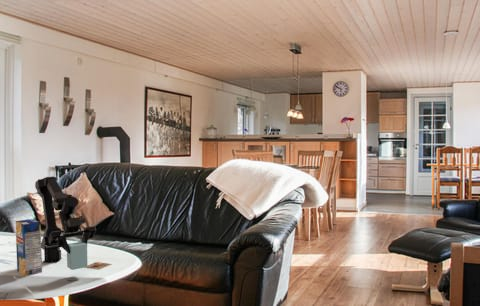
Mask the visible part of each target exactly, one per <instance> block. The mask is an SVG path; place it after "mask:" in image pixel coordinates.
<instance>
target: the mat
mask: <svg viewBox="0 0 480 306" xmlns="http://www.w3.org/2000/svg"><path fill="white" fill-rule="evenodd" d="M77 281H79V279H67V282H69V283H72V282H77Z"/></svg>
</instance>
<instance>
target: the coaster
mask: <svg viewBox="0 0 480 306" xmlns="http://www.w3.org/2000/svg"><path fill="white" fill-rule="evenodd" d="M87 265H88V267H85V268H84V269H92V270H101V269H104V268H106V267H109V266H111V265H113V263H107V262H101V266H98V267H95V266H94V262H93V263H90V264H87Z"/></svg>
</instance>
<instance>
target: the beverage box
mask: <svg viewBox="0 0 480 306" xmlns="http://www.w3.org/2000/svg"><path fill="white" fill-rule="evenodd" d="M41 226H42V225H41V221H38V220H36V219H33V218H28V219H21V220H15V245H16V269H17V270H16V271H17V272H18V273H20V274H23V275H24V276H29V275H33V274H39V273H43V258H42V256H43V255H42V248H41V242H42V231H41V229H42V228H41Z"/></svg>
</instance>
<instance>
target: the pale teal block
mask: <svg viewBox="0 0 480 306" xmlns="http://www.w3.org/2000/svg"><path fill="white" fill-rule="evenodd" d="M68 246H69V248H70V254H69V253H68V252H67V251H66V258H67V259H66V262H67V263H66V267H67V268H68V269H69V270H74V271H75V270H79V269H83V268H84V269H86V268H85V267H88V265H89V264H88V243H87V244H86V243H84V242H82V241H78V242H73V243H72V242H71V243H68Z"/></svg>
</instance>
